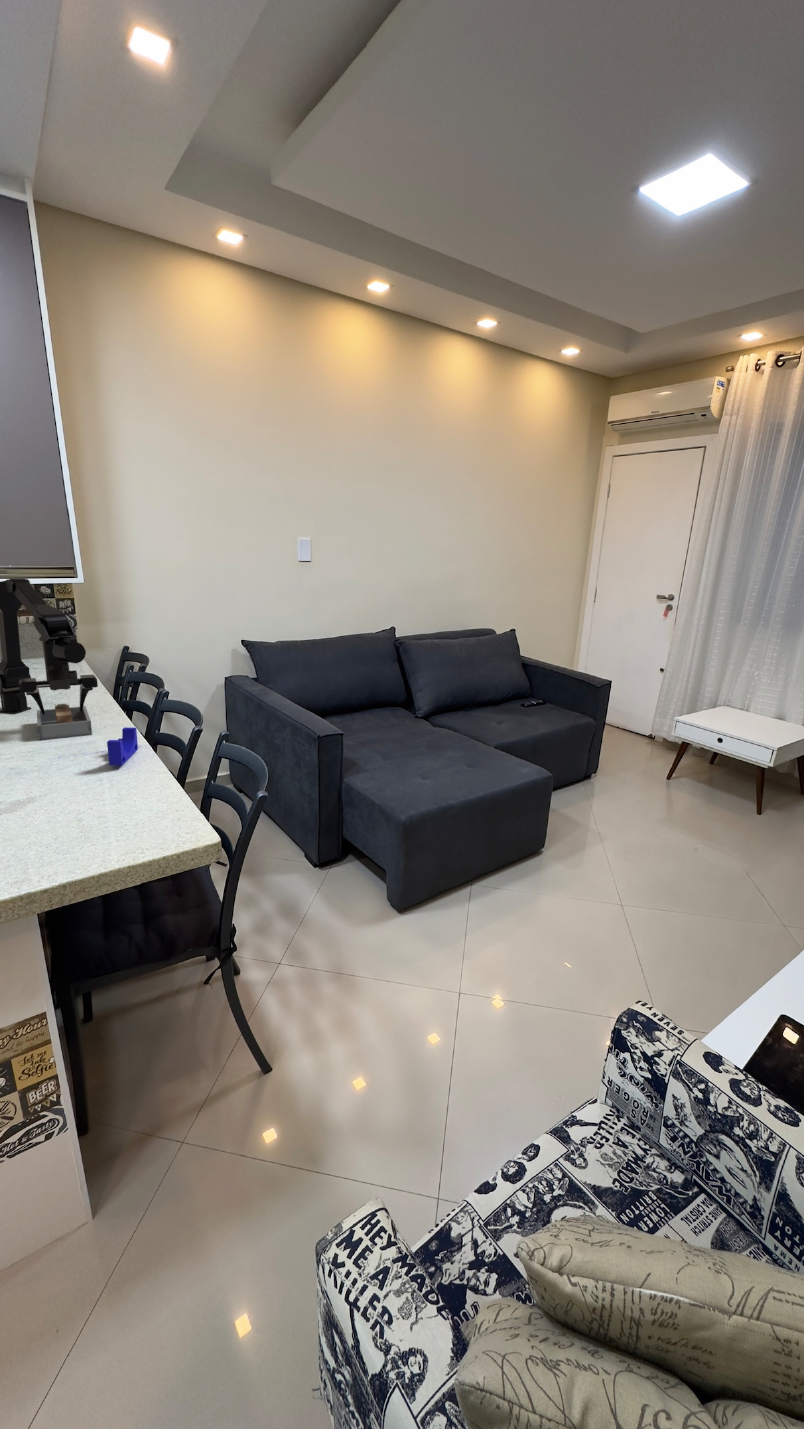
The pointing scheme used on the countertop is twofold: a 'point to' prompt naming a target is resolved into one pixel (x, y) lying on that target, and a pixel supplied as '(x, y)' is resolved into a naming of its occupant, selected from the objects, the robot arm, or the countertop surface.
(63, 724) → the bin
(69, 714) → the strut
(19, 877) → the countertop surface
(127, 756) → the cable clip
